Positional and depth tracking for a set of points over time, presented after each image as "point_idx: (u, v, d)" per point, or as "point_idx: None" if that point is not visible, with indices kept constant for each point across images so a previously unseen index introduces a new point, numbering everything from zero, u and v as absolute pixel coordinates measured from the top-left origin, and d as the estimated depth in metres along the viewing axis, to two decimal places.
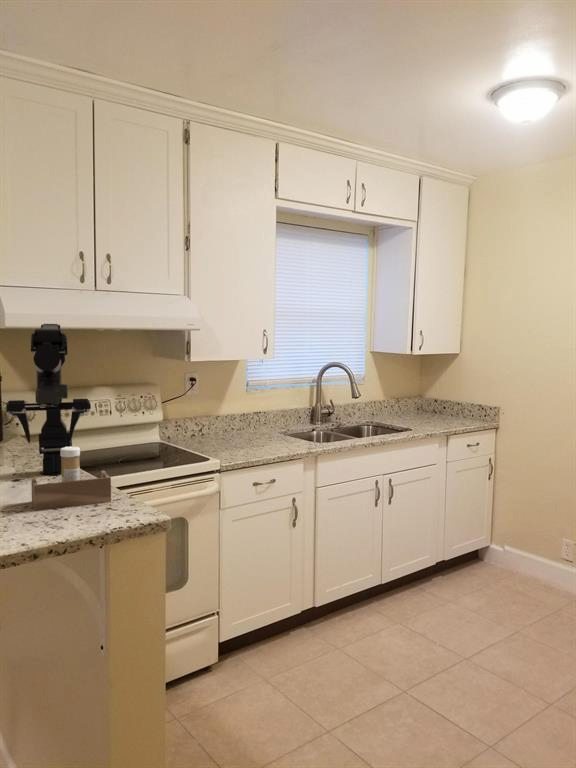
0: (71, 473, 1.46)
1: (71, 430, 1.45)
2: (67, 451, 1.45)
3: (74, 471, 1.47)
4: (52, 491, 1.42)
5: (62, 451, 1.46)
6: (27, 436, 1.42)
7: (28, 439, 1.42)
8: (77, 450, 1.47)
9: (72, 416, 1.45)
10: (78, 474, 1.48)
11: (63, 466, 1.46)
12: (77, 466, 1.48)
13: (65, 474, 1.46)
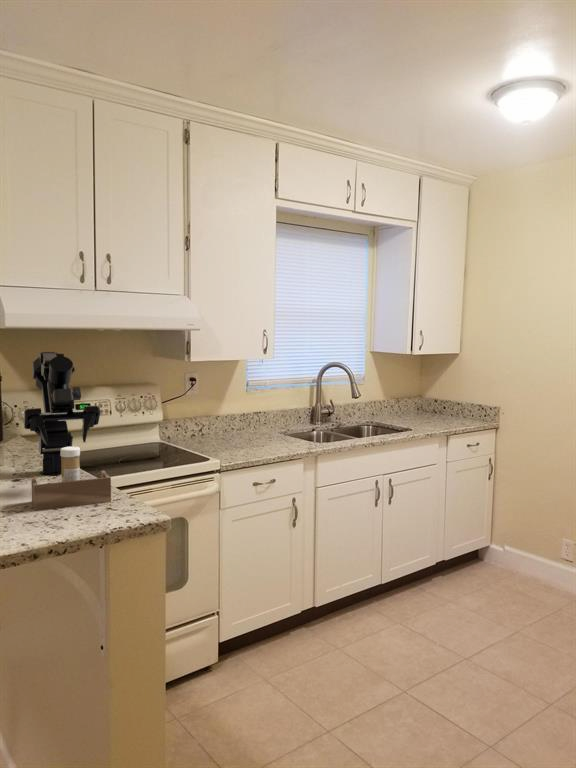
0: (71, 473, 1.46)
1: (85, 431, 1.57)
2: (67, 451, 1.45)
3: (74, 471, 1.47)
4: (52, 491, 1.42)
5: (62, 451, 1.46)
6: (45, 437, 1.52)
7: (46, 440, 1.52)
8: (77, 450, 1.47)
9: (85, 419, 1.58)
10: (78, 474, 1.48)
11: (63, 466, 1.46)
12: (77, 466, 1.48)
13: (65, 474, 1.46)
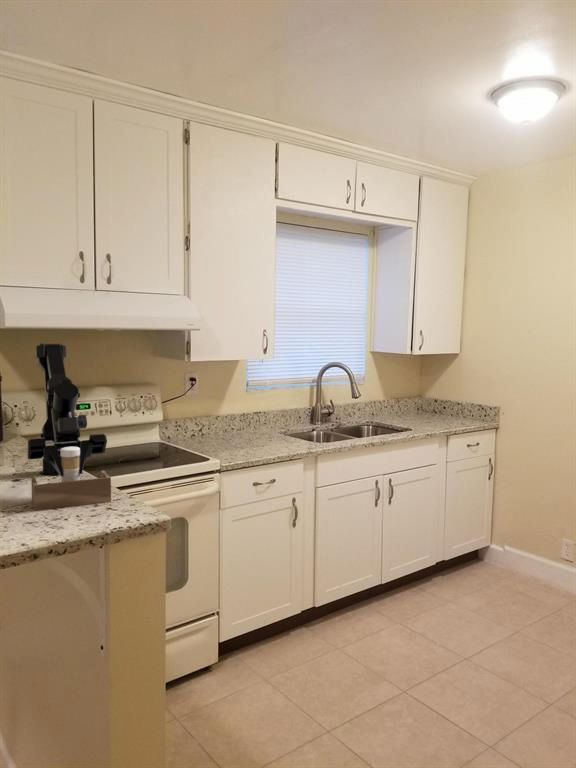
0: (71, 472, 1.46)
1: (81, 462, 1.49)
2: (67, 451, 1.45)
3: (74, 471, 1.47)
4: (52, 491, 1.42)
5: (62, 451, 1.46)
6: (59, 468, 1.46)
7: (60, 470, 1.46)
8: (77, 450, 1.47)
9: (81, 449, 1.50)
10: (78, 474, 1.48)
11: (63, 466, 1.46)
12: (77, 466, 1.48)
13: (65, 474, 1.46)
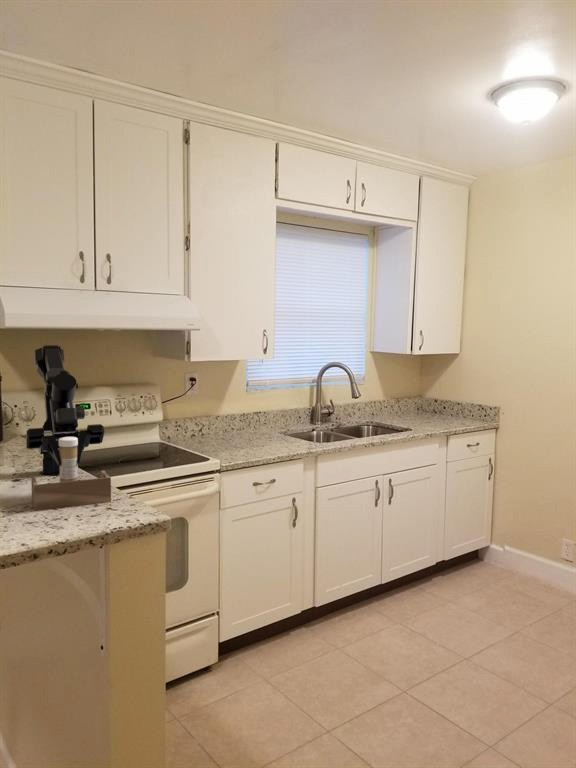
0: (69, 462, 1.49)
1: (79, 452, 1.52)
2: (65, 441, 1.48)
3: (72, 460, 1.49)
4: (52, 491, 1.42)
5: (60, 441, 1.49)
6: (57, 457, 1.49)
7: (59, 460, 1.49)
8: (75, 440, 1.50)
9: (79, 439, 1.53)
10: (76, 464, 1.51)
11: (61, 456, 1.49)
12: (75, 456, 1.50)
13: (63, 463, 1.49)
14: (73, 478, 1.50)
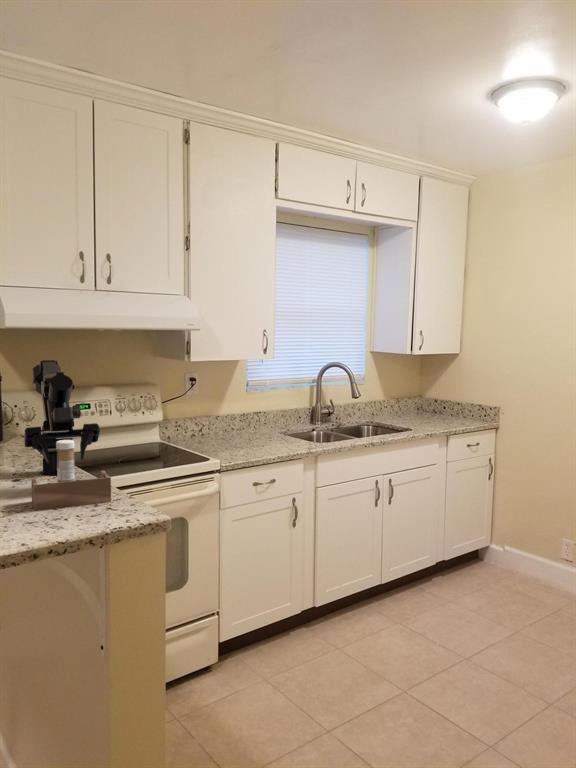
0: (66, 464, 1.55)
1: (82, 449, 1.58)
2: (62, 444, 1.54)
3: (69, 462, 1.56)
4: (52, 491, 1.42)
5: (57, 444, 1.55)
6: (47, 456, 1.54)
7: (48, 458, 1.54)
8: (72, 443, 1.56)
9: (82, 437, 1.60)
10: (73, 466, 1.57)
11: (58, 458, 1.55)
12: (72, 458, 1.56)
13: (61, 465, 1.55)
14: (70, 479, 1.56)
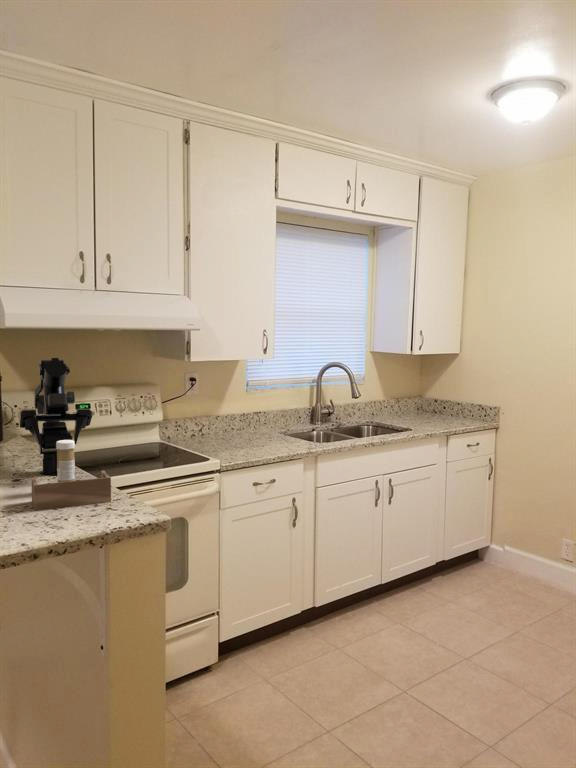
0: (66, 464, 1.55)
1: (76, 434, 1.67)
2: (62, 444, 1.54)
3: (69, 462, 1.56)
4: (52, 491, 1.42)
5: (58, 444, 1.55)
6: (38, 438, 1.62)
7: (39, 441, 1.61)
8: (72, 443, 1.56)
9: (77, 422, 1.68)
10: (73, 466, 1.57)
11: (59, 458, 1.55)
12: (72, 458, 1.57)
13: (61, 465, 1.55)
14: (70, 479, 1.56)
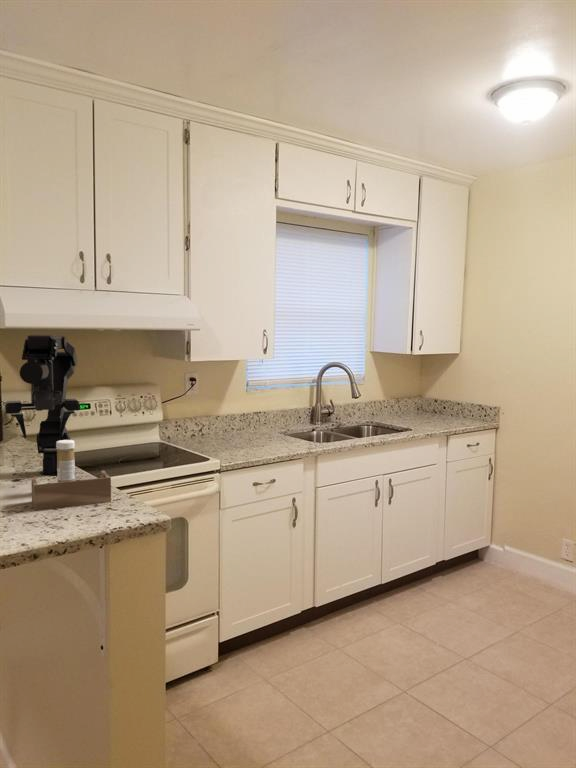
0: (66, 464, 1.55)
1: (62, 427, 1.66)
2: (62, 444, 1.54)
3: (69, 462, 1.56)
4: (52, 491, 1.42)
5: (58, 444, 1.55)
6: (23, 433, 1.61)
7: (24, 435, 1.61)
8: (72, 443, 1.56)
9: (64, 416, 1.64)
10: (73, 466, 1.57)
11: (59, 458, 1.55)
12: (72, 458, 1.56)
13: (61, 465, 1.55)
14: (70, 479, 1.56)
